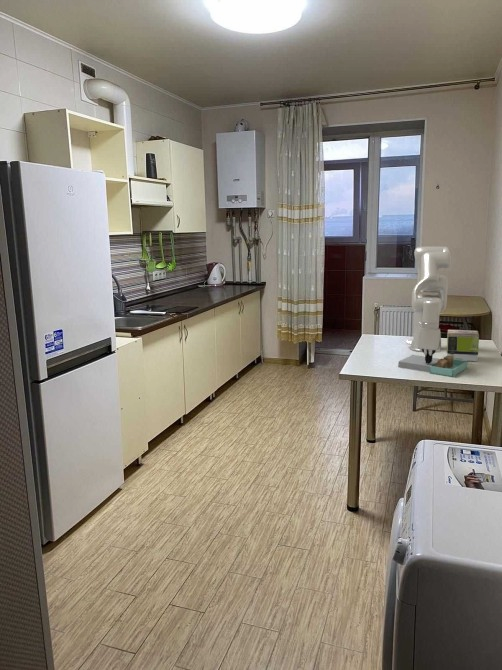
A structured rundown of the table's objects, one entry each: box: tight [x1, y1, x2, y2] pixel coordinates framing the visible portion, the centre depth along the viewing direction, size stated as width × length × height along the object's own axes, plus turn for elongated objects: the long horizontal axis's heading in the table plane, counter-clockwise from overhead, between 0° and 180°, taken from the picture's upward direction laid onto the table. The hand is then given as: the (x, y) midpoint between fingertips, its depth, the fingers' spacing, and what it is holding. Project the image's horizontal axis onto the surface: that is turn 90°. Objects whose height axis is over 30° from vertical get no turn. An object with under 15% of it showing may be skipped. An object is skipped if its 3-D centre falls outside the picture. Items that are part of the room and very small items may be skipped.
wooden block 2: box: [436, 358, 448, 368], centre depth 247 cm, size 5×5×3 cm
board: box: [398, 354, 441, 373], centre depth 259 cm, size 16×17×3 cm
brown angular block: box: [443, 355, 453, 368], centre depth 254 cm, size 5×5×3 cm
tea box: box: [446, 329, 480, 362], centre depth 271 cm, size 15×10×15 cm, turn 71°
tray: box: [429, 359, 469, 378], centre depth 250 cm, size 11×20×4 cm, turn 140°
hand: (428, 362), depth 251 cm, fingers closed
